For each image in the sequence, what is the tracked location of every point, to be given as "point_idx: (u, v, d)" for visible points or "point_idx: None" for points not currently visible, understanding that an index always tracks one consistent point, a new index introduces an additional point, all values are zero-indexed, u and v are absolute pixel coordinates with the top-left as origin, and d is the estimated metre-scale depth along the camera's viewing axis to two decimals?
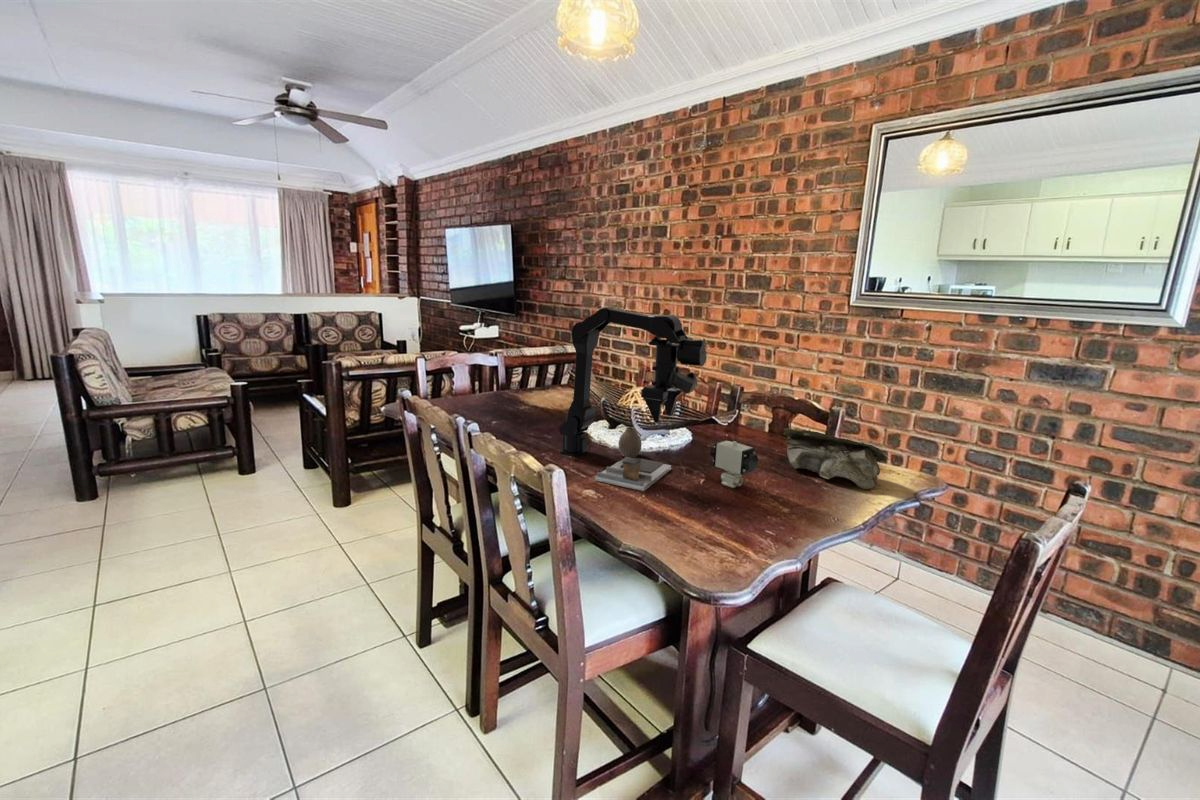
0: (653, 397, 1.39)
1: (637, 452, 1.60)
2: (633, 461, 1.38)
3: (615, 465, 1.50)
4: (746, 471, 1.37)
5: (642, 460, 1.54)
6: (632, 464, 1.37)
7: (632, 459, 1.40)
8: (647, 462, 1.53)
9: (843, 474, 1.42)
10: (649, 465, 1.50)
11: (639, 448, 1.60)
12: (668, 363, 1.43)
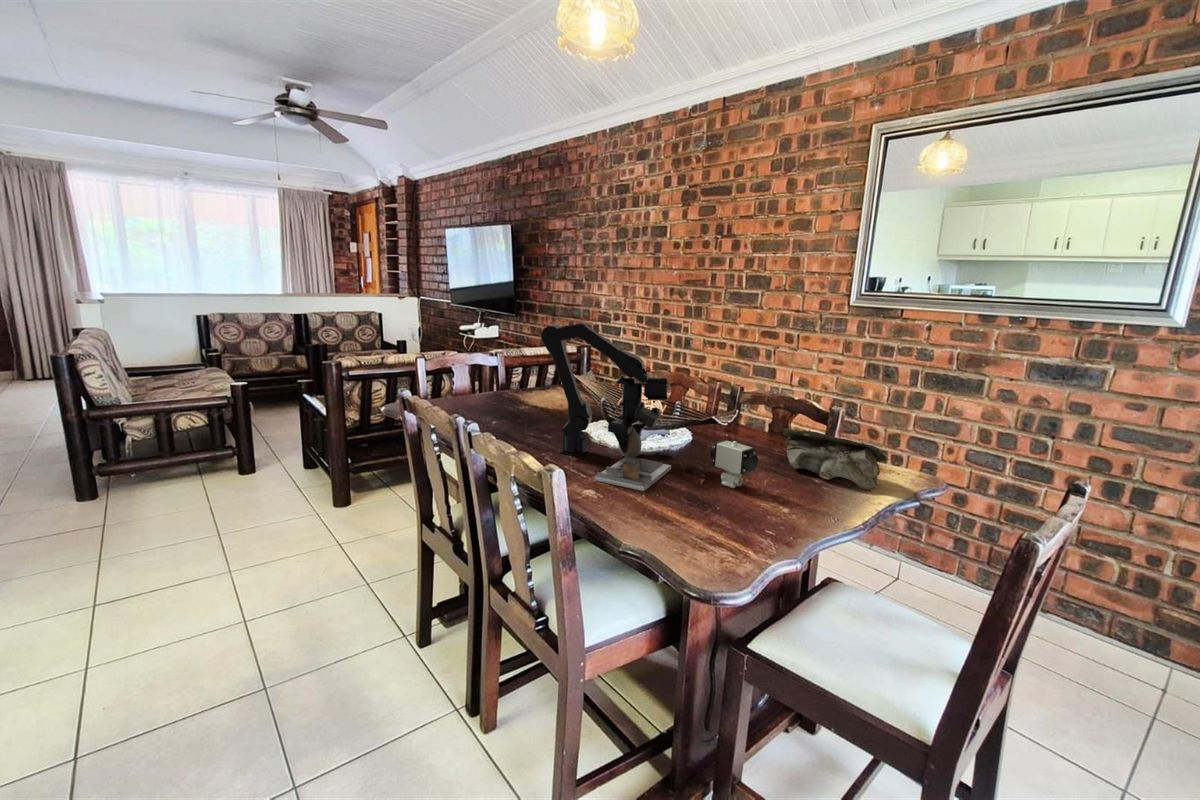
0: (619, 432, 1.52)
1: (637, 452, 1.60)
2: (633, 461, 1.38)
3: (615, 465, 1.50)
4: (746, 471, 1.37)
5: (642, 460, 1.54)
6: (632, 464, 1.37)
7: (632, 459, 1.40)
8: (647, 462, 1.53)
9: (843, 475, 1.42)
10: (649, 465, 1.50)
11: (639, 448, 1.60)
12: (636, 400, 1.56)
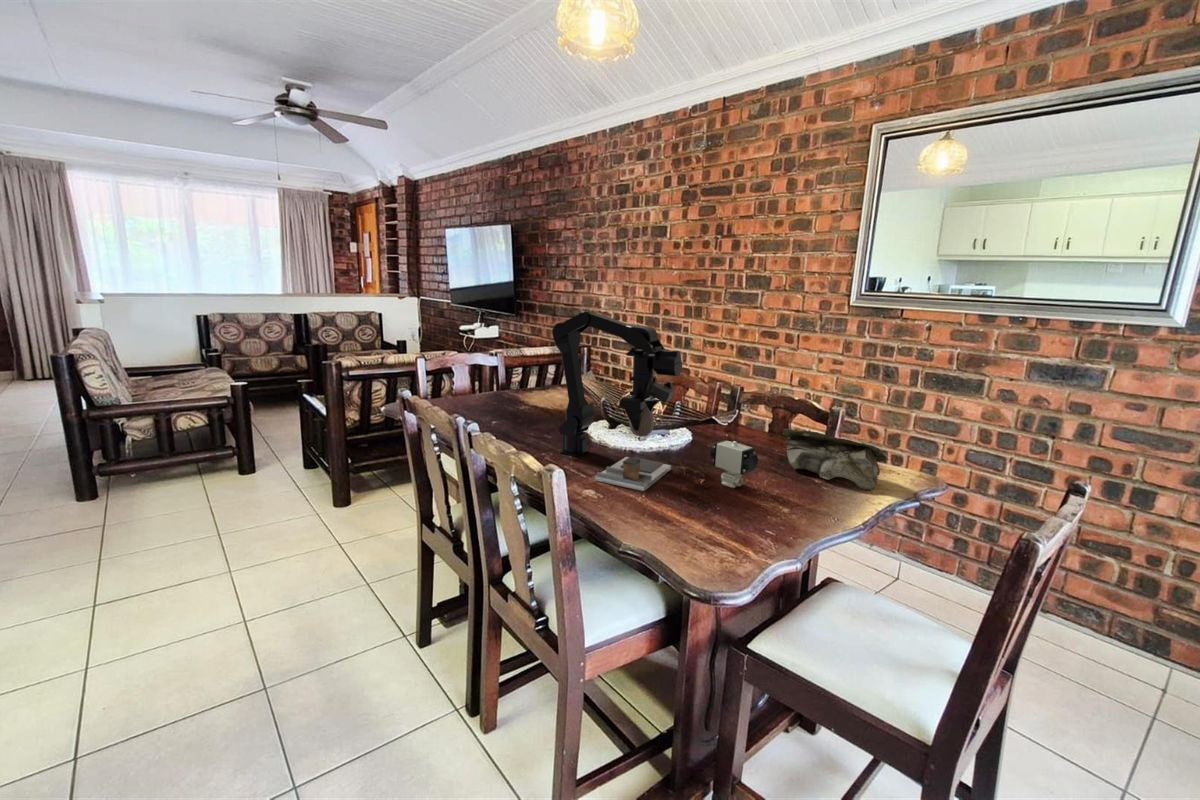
0: (631, 407, 1.42)
1: (650, 430, 1.50)
2: (633, 461, 1.38)
3: (615, 465, 1.50)
4: (746, 471, 1.37)
5: (642, 460, 1.54)
6: (632, 464, 1.37)
7: (632, 459, 1.40)
8: (647, 462, 1.53)
9: (843, 475, 1.41)
10: (649, 465, 1.50)
11: (652, 426, 1.50)
12: (645, 373, 1.46)
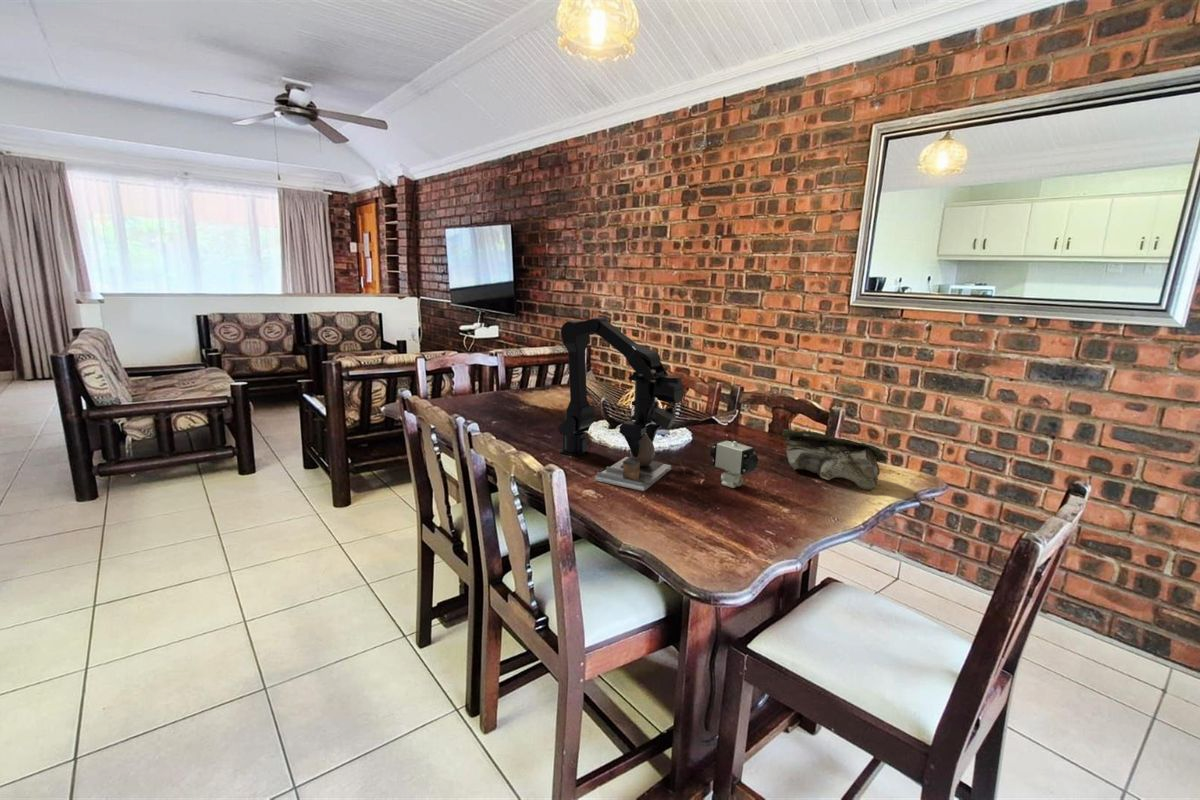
0: (631, 433, 1.40)
1: (650, 460, 1.48)
2: (633, 461, 1.38)
3: (615, 465, 1.50)
4: (746, 471, 1.37)
5: None
6: (632, 464, 1.37)
7: (632, 459, 1.40)
8: None
9: (844, 475, 1.41)
10: (649, 465, 1.50)
11: (653, 456, 1.49)
12: (645, 399, 1.44)
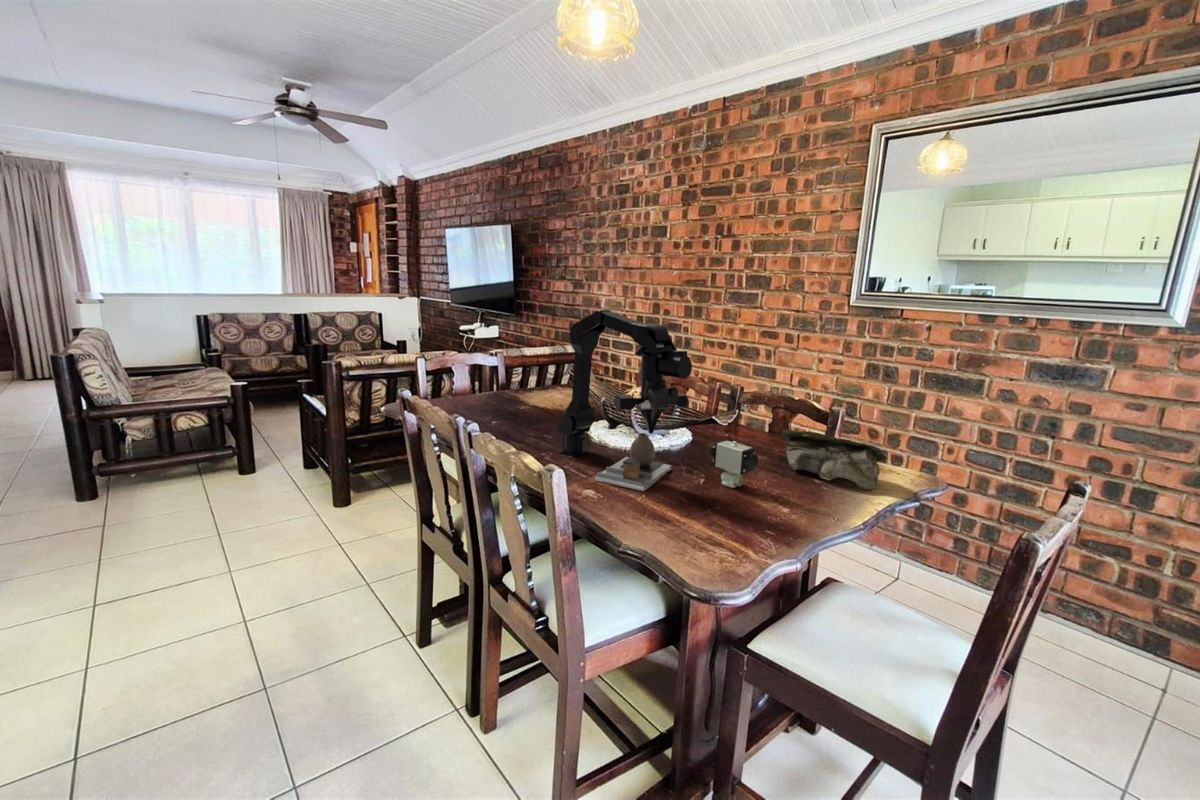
0: (617, 406, 1.37)
1: (650, 460, 1.48)
2: (633, 461, 1.38)
3: (615, 465, 1.50)
4: (746, 471, 1.37)
5: None
6: (632, 464, 1.37)
7: (632, 459, 1.40)
8: None
9: (844, 475, 1.41)
10: (649, 465, 1.50)
11: (653, 456, 1.49)
12: (651, 375, 1.36)
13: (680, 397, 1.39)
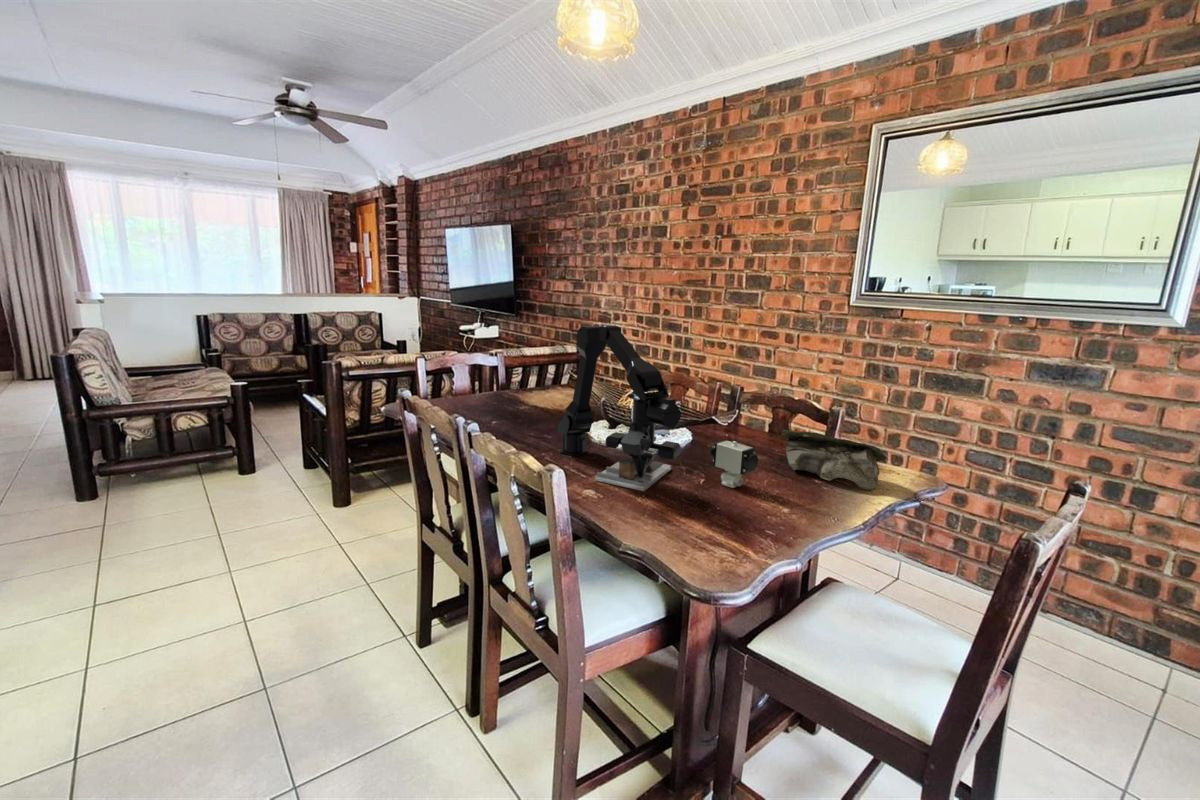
0: None
1: None
2: (629, 460, 1.39)
3: (615, 465, 1.50)
4: (747, 471, 1.37)
5: None
6: (628, 463, 1.38)
7: (628, 458, 1.40)
8: None
9: (845, 476, 1.41)
10: (649, 465, 1.50)
11: None
12: (640, 420, 1.33)
13: (664, 448, 1.31)
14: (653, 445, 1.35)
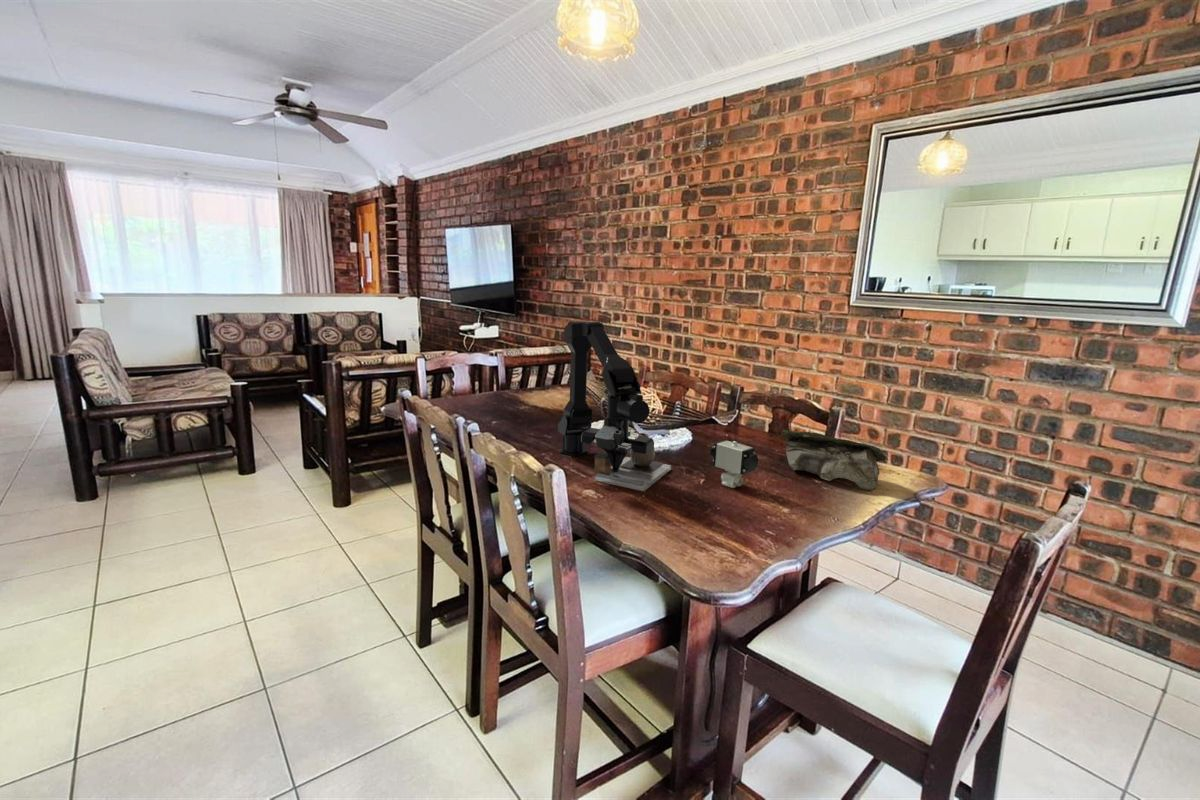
0: None
1: (650, 460, 1.48)
2: (604, 455, 1.42)
3: None
4: (746, 471, 1.37)
5: None
6: (603, 458, 1.41)
7: (603, 453, 1.44)
8: None
9: (845, 476, 1.41)
10: (649, 465, 1.50)
11: (653, 456, 1.49)
12: (613, 415, 1.36)
13: (637, 442, 1.34)
14: (627, 440, 1.38)
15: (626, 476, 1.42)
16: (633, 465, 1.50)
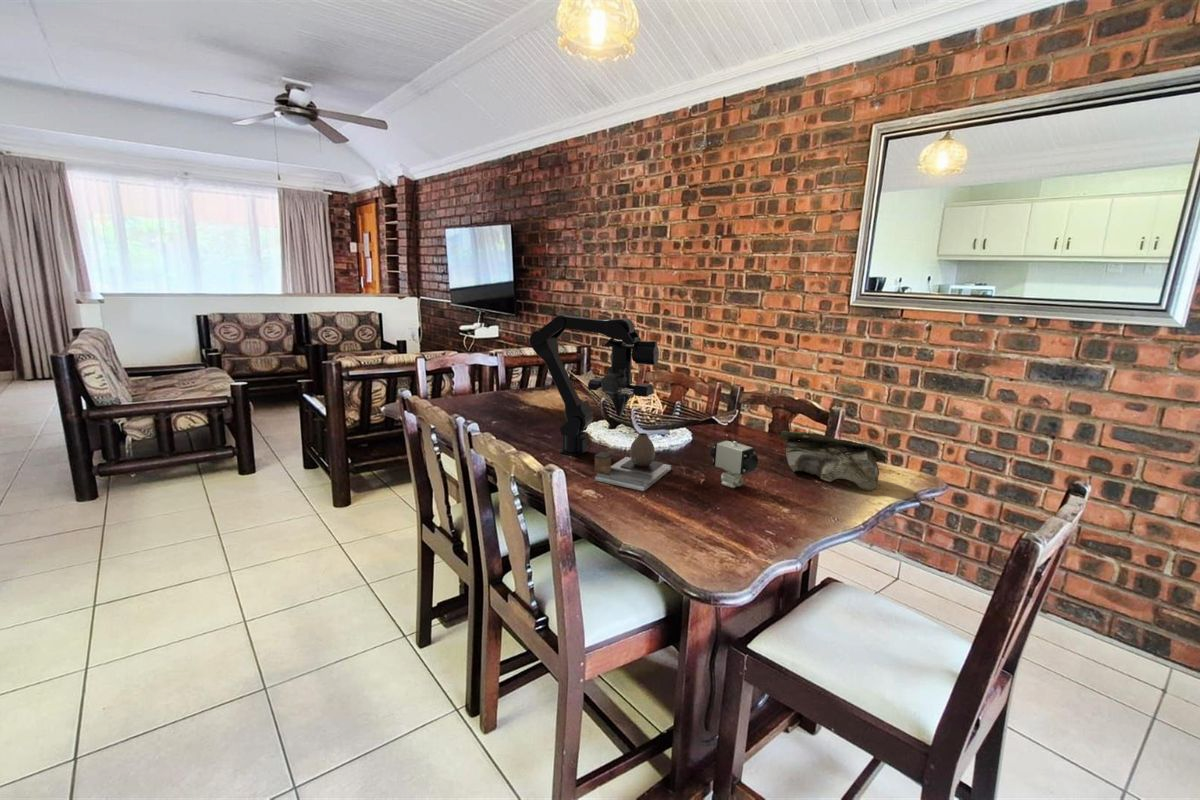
0: None
1: (650, 460, 1.48)
2: (604, 455, 1.42)
3: (615, 465, 1.50)
4: (746, 471, 1.37)
5: None
6: (603, 458, 1.41)
7: (603, 453, 1.44)
8: None
9: (846, 476, 1.40)
10: (649, 465, 1.50)
11: (653, 456, 1.49)
12: (624, 363, 1.51)
13: (639, 387, 1.50)
14: (629, 386, 1.53)
15: (626, 476, 1.42)
16: (633, 465, 1.50)
